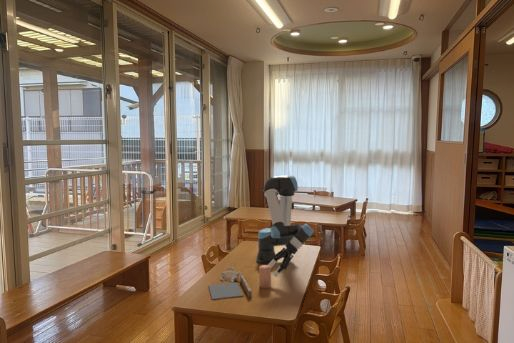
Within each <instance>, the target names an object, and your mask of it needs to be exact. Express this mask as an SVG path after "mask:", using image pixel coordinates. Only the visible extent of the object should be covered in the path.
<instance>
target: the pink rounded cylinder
mask: <svg viewBox="0 0 514 343" xmlns="http://www.w3.org/2000/svg"><path fill="white" fill-rule="evenodd" d="M258 269H259V272H258V273H259V275H258V276H259V288H261V289H269V287H270V288H271V287H272V272H271V271H272V268H271V267H270V266H268V264H266V265H265V264H263V265H262V264H261V265H259V267H258Z"/></svg>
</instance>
